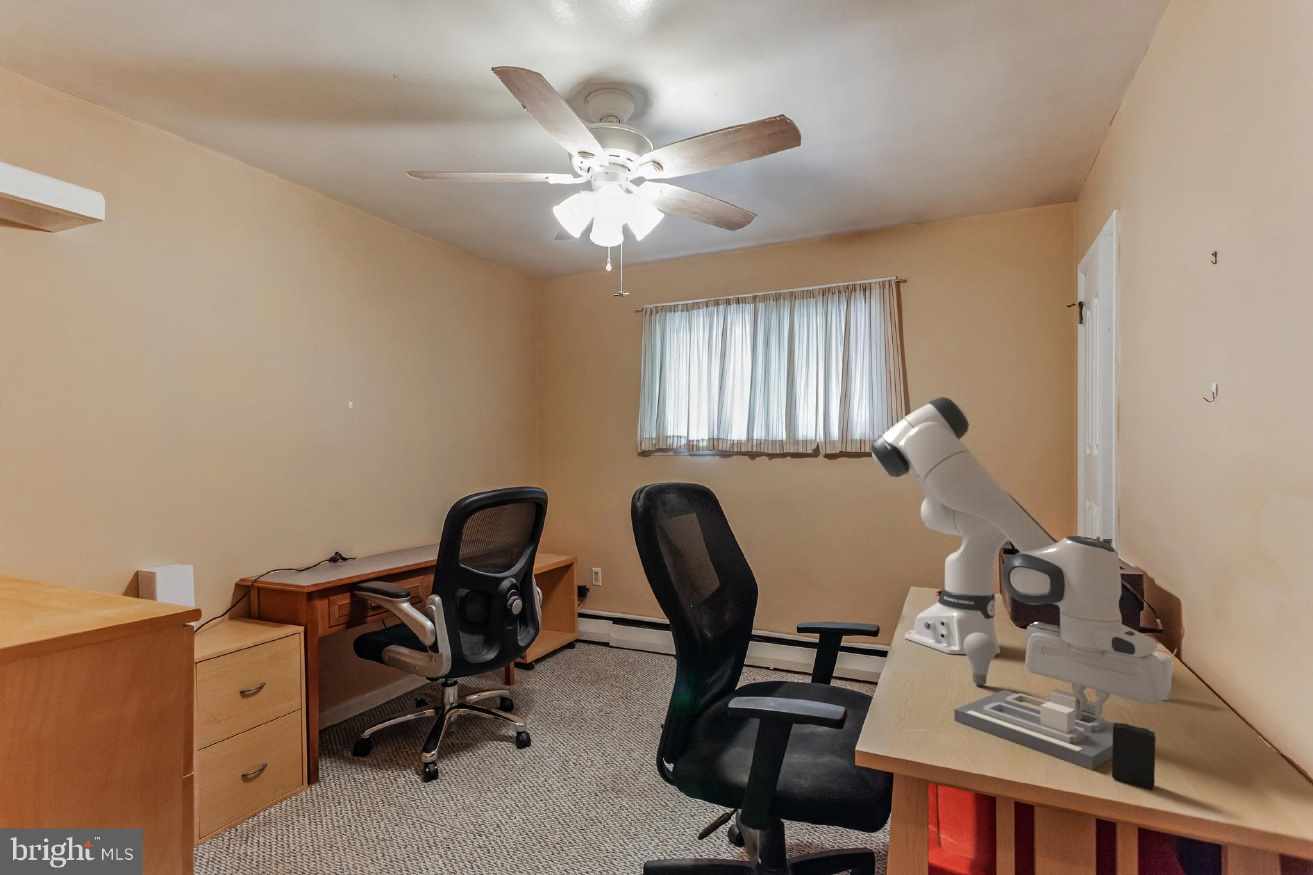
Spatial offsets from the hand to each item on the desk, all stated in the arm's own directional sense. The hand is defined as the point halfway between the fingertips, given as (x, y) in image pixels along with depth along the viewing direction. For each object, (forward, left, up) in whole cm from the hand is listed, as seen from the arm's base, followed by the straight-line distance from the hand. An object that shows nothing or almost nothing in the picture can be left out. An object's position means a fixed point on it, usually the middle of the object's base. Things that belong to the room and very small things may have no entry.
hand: (1090, 713), depth 109 cm
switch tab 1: (-4, 0, -2) cm, 4 cm away
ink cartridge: (+10, -12, -4) cm, 17 cm away
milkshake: (0, +34, -4) cm, 34 cm away
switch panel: (-6, -4, -4) cm, 8 cm away
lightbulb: (-24, +9, -4) cm, 26 cm away
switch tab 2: (-2, -8, -2) cm, 9 cm away
